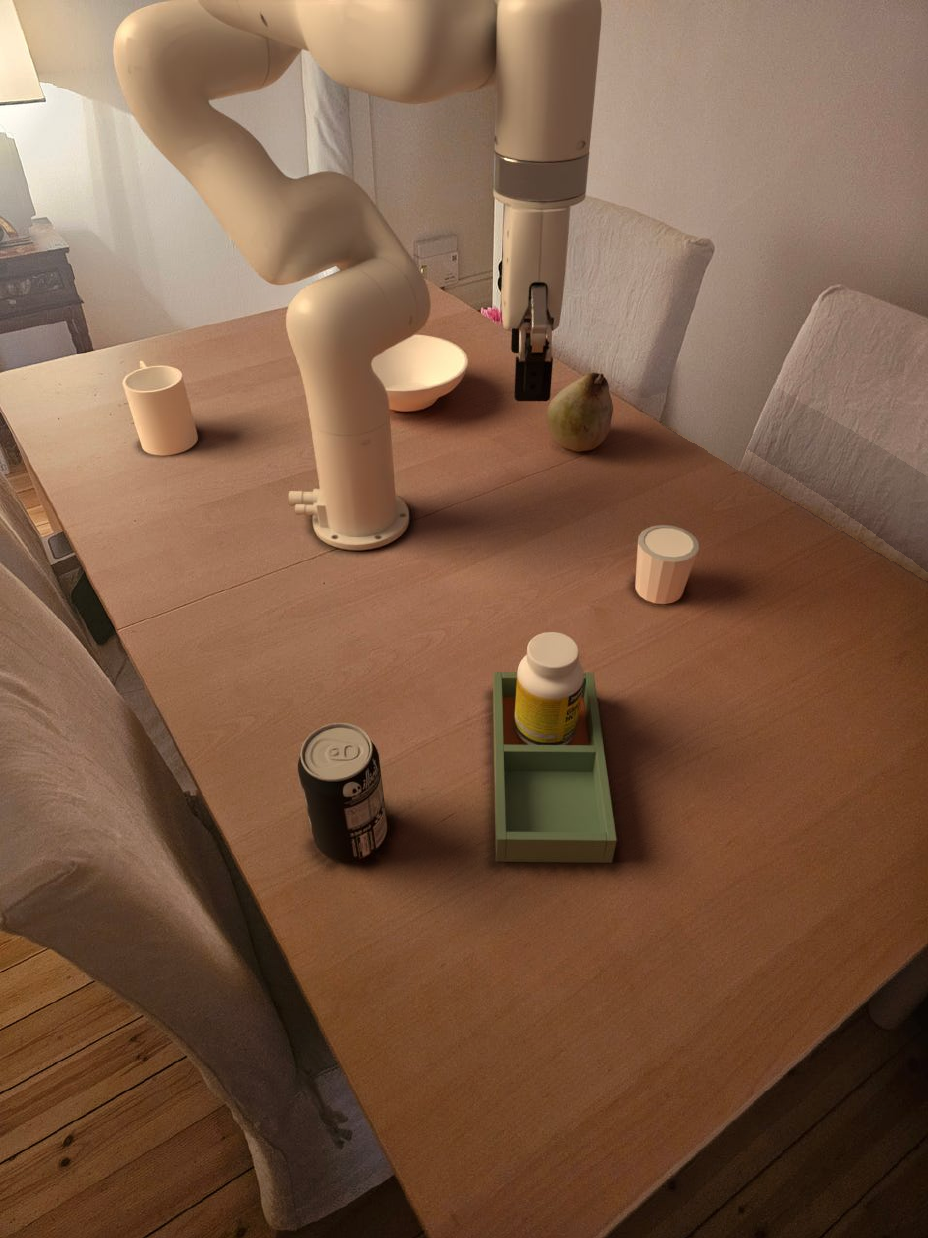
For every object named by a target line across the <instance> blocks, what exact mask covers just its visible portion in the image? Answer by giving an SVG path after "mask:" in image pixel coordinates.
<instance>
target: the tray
mask: <svg viewBox="0 0 928 1238" xmlns="http://www.w3.org/2000/svg"><path fill="white" fill-rule="evenodd" d="M517 672H518V671H516V672H515V671H493V682H492V683H493V684H492V685H493V687H492V689H493V690H492V710H493V712H492V713H493V717H492V718H493V762H494V763H493V771H494V774H493V775H494V827H495V828H494V829H495V830H494V832H495V862H496V863H501V862H502V863H574V864H575V863H579V864H581V863H582V864H584V863H586V864H587V863H589V864H612V863H613V859H614V854H615V850H616V846H617V842H618V839H617V838H618V837H617V830H616V824H615V817H614V810H613V803H612V802H613V801H612V796H611V788H610V783H609V775H608V768H607V760H606V753H605V746H604V739H603V733H602V731H603V730H602V726H601V719H600V718H601V717H600V711H599V703H598V696H597V688H596V682H595V675H594V674H595V673H594V672H584V681H583V687H582V695H581V700H580V708H579V715H578V723H577V728H576V732H575V735H574V737H573V739H572V740H571V741H570V742H569V743H568V744H566V745H527V744H526V743H525V742H523V741H522V740H521V739H520V738H519V736H518V735H517V733H516V730H515V725H514V717H515V702H516V686H517Z"/></svg>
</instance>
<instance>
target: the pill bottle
mask: <svg viewBox="0 0 928 1238" xmlns="http://www.w3.org/2000/svg"><path fill="white" fill-rule="evenodd" d="M526 648H527V649H526V654H525V655H524V656H523V657H522V659H520V662H519V664H518V667H517V671H516V672H517V686H516V702H515V717H514V725H515V730H516V733H517V735H518V736H519V738H520V739H521V740H522V741H523V742H525V743H526V744H527V745H566V744H568V743H569V742H570V741H571V740H572V739H573V737H574V735H575V732H576V728H577V723H578V715H579V708H580V700H581V695H582V687H583V681H584V673H585V672H584V669H583V665H582V664H581V662H580V661H579V656H580V649H579V646H578V644H577V642H576V641H575V640H574V639H573V638H571V637H570V636H568V635H567V634H564V633H562V632H556V631H546V632H542V633H538V634H536V635H535V636H533V637H532V638H531V639H530V641H529V642H528V644H527V647H526Z"/></svg>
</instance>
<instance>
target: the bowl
mask: <svg viewBox="0 0 928 1238" xmlns="http://www.w3.org/2000/svg"><path fill="white" fill-rule="evenodd" d="M468 365H469V357H468V355H467V353H466V351H464V349H463V348H462V347H460V346H459V345H458V344H455V343H454V342H452V341H449V340H447V339H444V338H441V337H438V336H437V337H436V336H432V335H424V334H414V335H413V336H411V337H410V338H408V339H406V340H404V341H402V342H400V343H399V344H397V345H395V346H393V347H391V348H389V349H387V350H385V351H384V352H383V353H381V354H379V355H378V356H376V357H375V358H374V359H373V360H372V369H373V371H374V372H375V374H376V375H377V376H378V378H379V379H380V380H381V381H382V383H383V384H384V386H385V388H386V391H387V394H388V399H389V410H390V411H394V412H401V413H402V412H408V413H409V412H416V411H421V410H424V409H427V408H429V407H431V406H433V405H434V404H435V403H436V402H437V400H438V399H439V398H441V397H443V396H446V395H447V394H449V393H451V392H452V391H453V390H455V388H456V387H457V386H458V385H459V384H460V383H461V381H462V380H463V378H464V376H465V375H466V373H467V371H468V370H467V369H468Z"/></svg>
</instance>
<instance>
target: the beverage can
mask: <svg viewBox="0 0 928 1238" xmlns="http://www.w3.org/2000/svg"><path fill="white" fill-rule="evenodd" d="M297 773H298V777H299V781H300V786H301V791H302V794H303V795H302V796H303V799H304V803H305V807H306V811H307V816H308V820H309V826H310V829H311V833H312V837H313V841H314V844H315V845H316V847H317V849H318V850H319V852H320V853H322V854H323V855H324V856H326V857H328V858H330V859H332V860H334V861H338V862H344V863H345V862H355V861H359V860H363V859H365V858H367V857H369V856H371V855H372V854H373V853H375V852H376V851H377V850H378V849H379V848H380V846H381V845H382V844H383V842H384V840H385V838H386V835H387V831H388V820H387V812H386V804H385V796H384V785H383V779H382V771H381V761H380V755H379V751H378V749H377V747H376V745H375V743H374V742H373V741H372V739H371V737H370V736H369V735H368V733H367V732H366V731H365V730H364V729H363V728H361V727H359V726H358V725H355V724H352V723H347V722H334V723H329V724H326V725H323V726H321V727H319V728H317V729H315V730H314V731H312V732H311V733H310V734H309V735H308V736H307V737H306V739H305V740H304V742H303V743H302V745H301V748H300V755H299V758H298V762H297Z"/></svg>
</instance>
